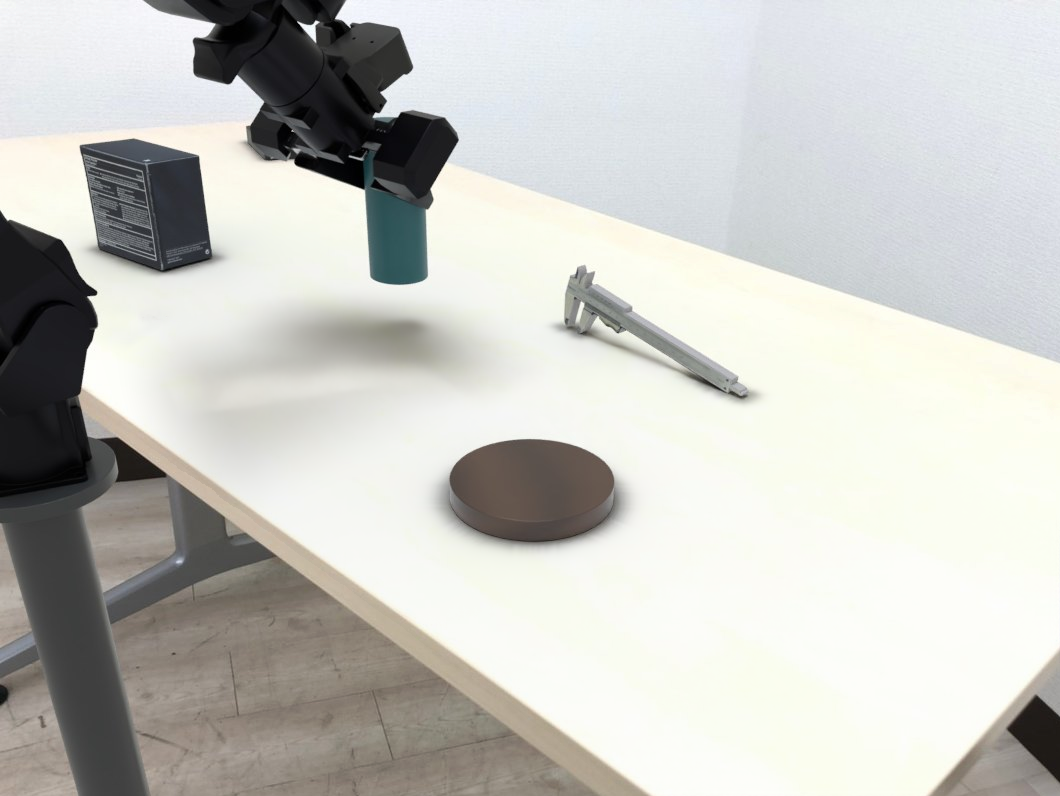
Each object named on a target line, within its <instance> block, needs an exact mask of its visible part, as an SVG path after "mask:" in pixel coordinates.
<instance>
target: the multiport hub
mask: <svg viewBox="0 0 1060 796" xmlns="http://www.w3.org/2000/svg"><path fill="white" fill-rule="evenodd" d="M245 132H246V139H247V144H248V145H249V146H250V147H252V149H253V150H254V151H256V153H258V154H259V156H261V157H262V158H263V160H265V161H275V160H278V159H275V158H272V157H269V156H266V155H265V154H264V153H263V152H262V151H261V150H260V149H259V148H257V147H256V146H255V145H254V144H253V143H252V140H251V131H250V125H246V126H245ZM287 149H288V150H289V151H290V157H289V159H288V160H291V159H292V160H295V157H296V156H297V153H296V152H295V151H294V150H292V149H289V148H287Z"/></svg>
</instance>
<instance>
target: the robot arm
mask: <svg viewBox="0 0 1060 796" xmlns="http://www.w3.org/2000/svg"><path fill="white" fill-rule="evenodd" d="M142 1H143V2H145V3H146V4H147V5H149V6H150V7H151V8H152V9H154V10H156V11H158V12H160V13H164V14H168V15H171V16H175V17H179V18H186V19H191V20H194V21H195V20H196V21H201V22H204V23H209V24H213V28H212V29H211V30H210V32H209V33H208V35H206V36H204V37H197V36H196V37H193V39H192V45H193V49H194V53H193V54H194V55H193V59H192V71H193V75H194V76H195V78H198V79H203V80H206V81H211V82H214V83H218V84H223V85H228V86H229V85H231V84H232V83H233V82H234V80H235V79H236V77H238V78H239V79H240V80H242V82H243V83H244V84H245V85H246V86H247V87H248V88H250V90H252V92H253V93H254V94H255V95H256V96H257V97H258V98H259V99H261V100H262V102H263V103H262V105H261V106H260V107H259V111H258V112H257V114H256V115H255V117H254V119H253V120H252V121H251V123H250V125H249V126H250V131H251V140H252V143H253V144H254V145H255V146H256V147H257V148H259V149H260V150H261V151H262V152H263V153H264V154H265V155H266V156H269V157H272V158H275V159H277V160H278V161H282V162H288V160H290V159H289V157H290V151H289V150H288V149H287V148H289V149H292V150H294V151H295V152H296V153H297V156H296V157H295V159H293V163H294V165H295V167H297V168H299V169H302V170H306V171H309V172H312V173H314V174H318V175H320V176H323V177H325V178H328V179H331V180H335V181H337V182H340V183H343V184H345V185H348V186H351V187H354V188H357V189H359V190H363V191H365V186H364V169H363V160H365V159H366V158H367V156H368V154H369V151H372V152H376V153H375V155H374V158H373V159H372V160H373V177H374V178H375V179H374V181H373V183H372V184H371V186H370V187H371V188H372V189H375V190H377V191H380V192H382V193H385V194H387V195H390V196H393V197H395V198H398V199H400V200H403V201H405V202H408V203H410V204H413V205H415V206H418V207H420V208H423V209H426V211H427V210H429V209H430V208H431V207H432V205H433V203H434V200H435V199H434V195H433V192H432V190H431V189H432V187H434V184H435V182H436V181H437V179H438V177H439V176H440V174H441V172H442V171H443V169H444V167H445V165H446V164H447V161H448V160H449V158H450V157H451V155H452V154H453V151H454V150H455V148H456V147H457V144H458V143H459V141H460V139H459V134H458V132H457V131H456V129H455V128H454V127H453V125H451V123H450V122H449V121H448V120H447V118H446V117H444V116H441V115H436V114H431V113H429V112H428V113H427V112H423V111H419V110H415V109H411V110H405V111H400V112H399V114H398V116H394V117H395V118H393V119H392V120H391V121H389V122H383V121H379V120H375V119H374V118H375V117H374V116H375V114H381V112H382V111H383V109H384V108H385V106H386V104H387V102H388V100H387V99H386V97H385V96H384V95H383V94H382V92H384V91H386V90H387V89H388V88H389V87H390V86H391V85H393V84H394V83H396V81H398V80H399V79H400V78H402V77H403V76H407V75H409V74H410V73H411V72H412V71H413V70H414V65H413V62H412V59H411V56H410V54H409V51H408V48H407V44H406V42H405V39H404V37H403V35H402V31H401V29H400V28H399V27H396V26H392V25H391V26H390V25H386V24H381V23H375V22H371V21H366V22H361V23H358V22H354V21H353V22H351V23H349V25H348V24H347V23H346V22H345V21H344V20H342V19H340V18H339V19H338V18H337V16H338V15H339V13H340V11H342V8H343V7H344V5H345V3H346V2H347V0H142ZM315 22H318V23H316V24H315ZM301 24H302V25H306V26H313V25H314V24H315V25H314V27H315V28H314V29H315V40H314V39H313V37H311V36H310V34H309V33H308V32H307V31H306V30H305V29H304V28H303V26H302V25H301ZM97 295H98V290H97V289H96V288H94V287H92V286H91V285H89V284H88V283H87V282H86V281H85V280H84V279H83V277H82V276H81V275H80V273H79V270H78V269H77V267H76V264H75V262H74V259H73V257H72V254H71V252H70V250H69V249H68V247H67V246H66V244H65V243H64V241H63V240H62V239H60V238H58V237H55V236H53V235H51V234H48V233H45V232H44V231H41V230H38V229H35V228H33V227H31V226H28V225H26V224H23V223H20V222H18V221H15V220H13V219H7V218H6V217H5V214H4V213H3V212H2V211H1V210H0V498H1V497H6V496H12V495H17V494H23V493H28V492H34V491H39V490H45V489H51V488H56V487H62V486H67V485H73V484H78V483H83V482H86V481H87V480H89V476H88V472H87V467H86V463H85V462H88V461H90V460H91V459H92V454H91V449H90V445H89V440H88V437H89V435H88V432H87V427H86V422H85V419H84V414H83V409H82V406H81V402H80V398H79V395H81V392H82V387H83V381H84V375H85V374H84V373H85V369H86V368H85V367H86V361H87V354H88V349H89V348H90V345H91V344H92V342H93V340H94V335H95V332H96V329H98V328H99V319H98V317H99V316H98V314H97V311H96V309H95V307H94V304H93V302H92V301H91V300H90V298H89V297H96V296H97Z"/></svg>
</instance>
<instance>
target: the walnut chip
mask: <svg viewBox="0 0 1060 796" xmlns="http://www.w3.org/2000/svg"><path fill="white" fill-rule="evenodd" d="M448 479H449V480H448V481H449V502H450V503H449V504H450V505H451V508H452V510H453V511H454V513H455V515H457V517H458V518H459V519H460V520H461V521H463V522H464V523H465V524H466V525H468V526H470V527H472V529H475V530H477V531H479V532H481V533H483V534H487V535H490V536H493V537H497V538H501V539H505V540H506V539H507V540H512V541H522V542H545V541H546V542H547V541H553V540H554V541H555V540H560V539H561V540H562V539H565V538H570V537H574V536H576V535H579V534H583V533H585V532H587V531H589V530H591V529H592V528H595V527H596V526H597V525H599V524H600V523H601V522H603V521H604V520H606V518H607V516H608V515H609V514H610V513H611V510H612V508H613V505H614V499H615V497H614V495H615V475H614V473H613V470H612V469H611V467H610V466H609V465H608V464H607V463H606V461H604V460H603V459H602V458H601V457H600V456H598V455H596V454H595V453H593V452H592V451H589V450H587V449H585V448H583V447H580V446H577V445H574V444H571V443H566V442H562V441H559V440H558V441H557V440H551V439H540V438H520V439H508V440H501V441H499V442H498V441H497V442H493V443H489V444H486V445H483V446H480V447H478V448H476V449H473V450H472V451H470V452H468V453H466V454H465V455H463V456H462V457H461V458H459V460H457V462H455V464H454V465H453V467H452V469H451V471H450V473H449V478H448Z"/></svg>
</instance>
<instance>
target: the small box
mask: <svg viewBox="0 0 1060 796" xmlns="http://www.w3.org/2000/svg"><path fill="white" fill-rule="evenodd" d="M79 153H80V156H81V159H82V163H83V164H82V165H83V167H84V168H83V169H84V173H85V178H86V184H87V190H88V194H89V201H90V206H91V212H92V218H93V223H94V228H95V234H96V235H95V236H96V240H97V248H98V249H99V250H102V251H104V252H107V253H110V254H114V255H116V256H119V257H122V258H125V259H128V260H130V261H133V262H137V263H138V264H143V265H145V266H148V267H151V268H153V269H157V270H160V271H164V270H167V269H171V268H175V267H179V266H182V265H186V264H190V263H195V262H198V261H202V260H206V259H210V258H212V257H213V251H212V244H211V236H210V229H209V228H210V227H209V221H208V213H207V208H206V200H205V192H204V183H203V177H202V169H201V161H200V160H201V158H200V155H199V154H196V153H191V152H187V151H183V150H180V149H176V148H173V147H168V146H164V145H160V144H157V143H153V142H149V141H145V140H142V139H139V138H138V139H137V138H134V137H133V138H126V139H119V140H110V141H100V142H92V143H83V144H80V145H79Z"/></svg>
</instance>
